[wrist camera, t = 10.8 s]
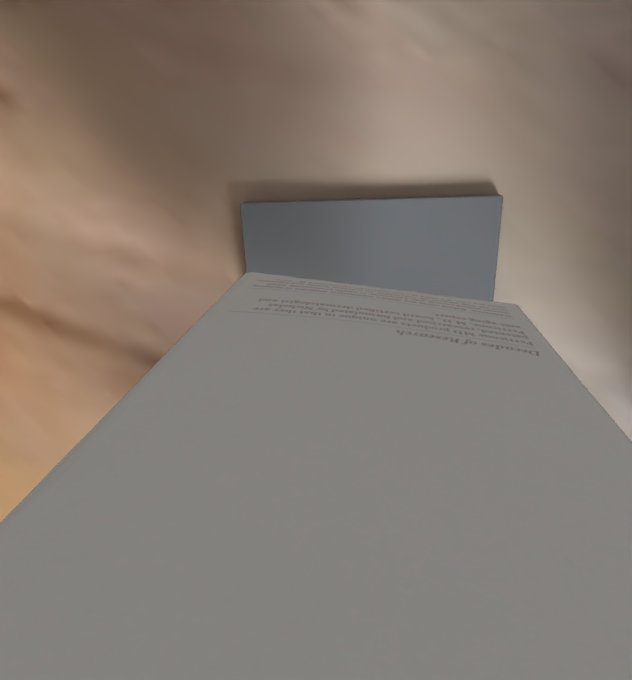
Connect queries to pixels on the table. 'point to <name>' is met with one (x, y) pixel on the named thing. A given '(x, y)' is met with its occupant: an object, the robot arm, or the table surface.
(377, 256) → the mat
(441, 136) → the table surface
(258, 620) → the supplement box
